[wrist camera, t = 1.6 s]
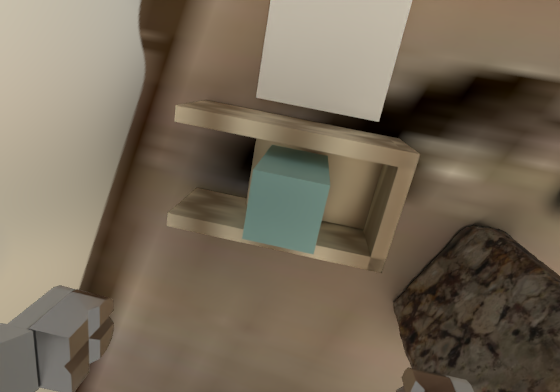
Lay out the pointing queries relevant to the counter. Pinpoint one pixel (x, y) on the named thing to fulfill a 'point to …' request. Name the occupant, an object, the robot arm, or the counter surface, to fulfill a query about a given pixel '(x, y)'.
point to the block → (287, 199)
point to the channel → (342, 194)
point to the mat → (332, 54)
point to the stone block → (485, 315)
